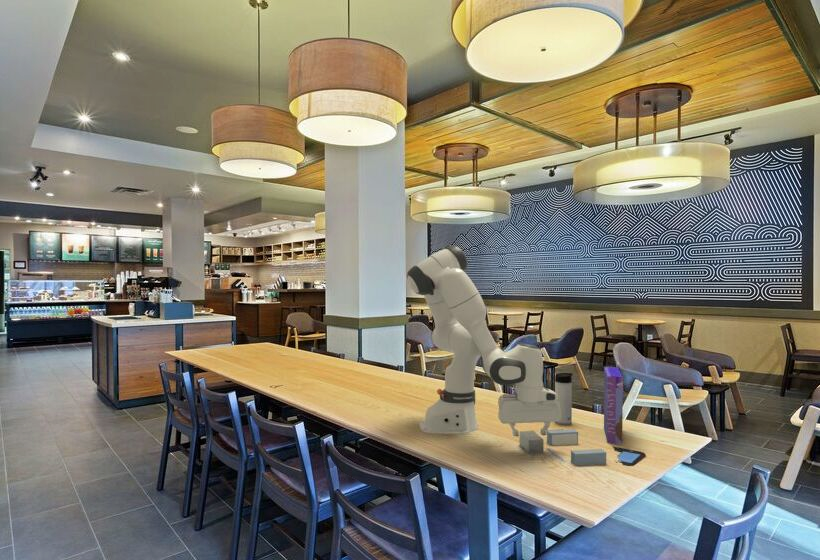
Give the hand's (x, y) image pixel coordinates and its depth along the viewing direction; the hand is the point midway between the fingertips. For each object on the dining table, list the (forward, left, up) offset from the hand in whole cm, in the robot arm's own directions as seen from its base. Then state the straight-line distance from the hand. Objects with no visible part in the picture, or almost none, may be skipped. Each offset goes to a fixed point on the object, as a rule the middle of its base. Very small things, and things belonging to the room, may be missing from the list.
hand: (529, 435), depth 145 cm
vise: (+14, -4, -6) cm, 16 cm away
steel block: (+1, +1, -6) cm, 7 cm away
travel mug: (+25, +27, -7) cm, 37 cm away
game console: (+27, -7, -7) cm, 29 cm away
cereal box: (+36, +11, -7) cm, 38 cm away
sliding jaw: (+14, +4, -6) cm, 16 cm away
